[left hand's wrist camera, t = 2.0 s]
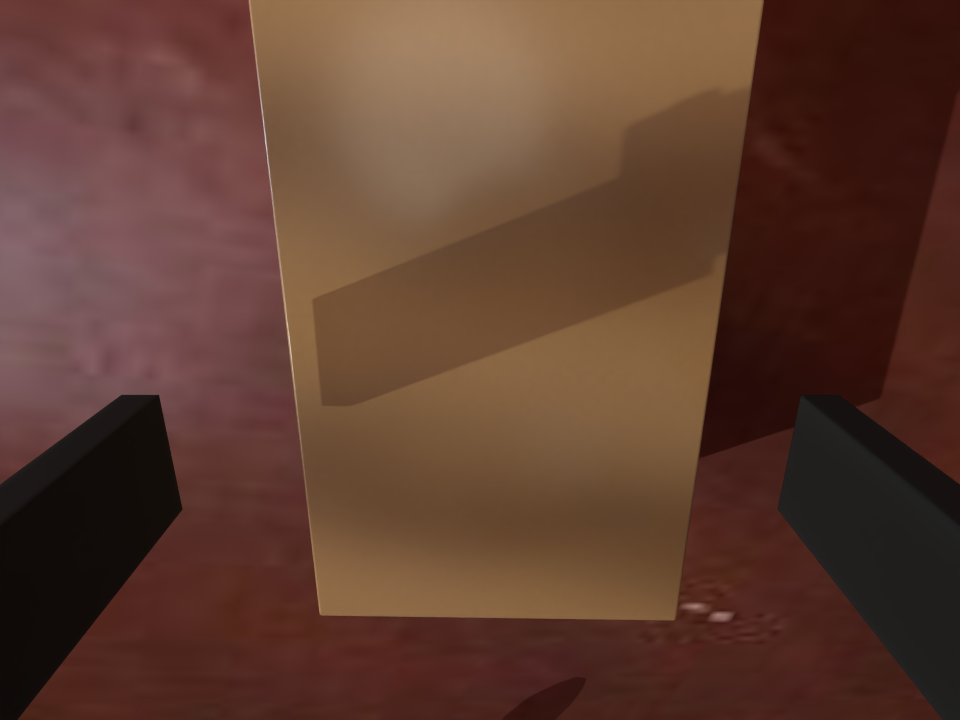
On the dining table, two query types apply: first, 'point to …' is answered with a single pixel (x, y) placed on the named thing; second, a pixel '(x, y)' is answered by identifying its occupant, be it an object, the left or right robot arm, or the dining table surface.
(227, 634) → the dining table surface
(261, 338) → the dining table surface
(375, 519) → the slab
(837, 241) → the dining table surface
